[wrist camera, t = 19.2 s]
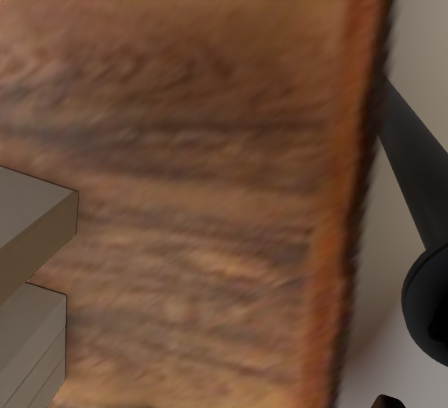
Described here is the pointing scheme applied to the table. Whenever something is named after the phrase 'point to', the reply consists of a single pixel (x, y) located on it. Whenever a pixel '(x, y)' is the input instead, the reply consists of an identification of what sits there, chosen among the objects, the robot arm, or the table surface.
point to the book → (31, 226)
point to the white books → (32, 347)
